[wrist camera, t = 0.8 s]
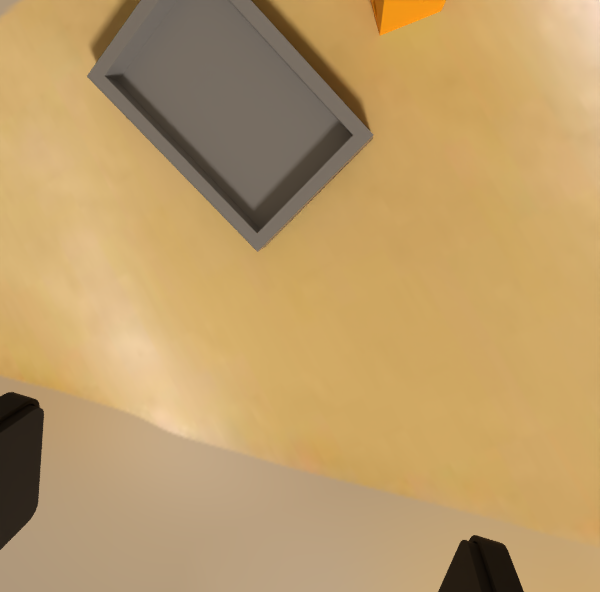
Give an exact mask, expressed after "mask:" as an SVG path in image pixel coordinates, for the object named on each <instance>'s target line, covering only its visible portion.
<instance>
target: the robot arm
mask: <svg viewBox="0 0 600 592" xmlns="http://www.w3.org/2000/svg"><path fill="white" fill-rule="evenodd" d="M43 420H44V411H43V409H41V408H40V407H39V402H38V401H37V400H36V399H33V398H30V397H27V396H23V395H20V394H17V393H14V392H9V393H6V394H4V395H2V396H0V550H1V549H2V548H3V547H4V546H5V544H7V543H8V541H10V540H11V538H13V537H14V536H15V535H16V534H17V532H19V530H21V528H22V527H23V526H25V525H26V523H27V522H28V521H29V520H30V519H31V518H32V516H33V515H34V513H35V511H36V508H37V505H38V496H39V495H38V494H39V481H40V465H41V449H42V434H43ZM438 592H524V591H523V589H522V586H521V583H520V581H519V578H518V576H517V573H516V570H515V568H514V565H513V563H512V560H511V558H510V555H509V552H508V550H507V548H506V546H505V545H504V544H502V543H499V542H496V541H493V540H489V539H486V538H483V537H480V536H476V535H473V536H472V537H471V538H470V540H469V541H467V540H462V541H461V542H460V544H459V547H458V549H457V551H456V553H455V555H454V558H453V560H452V562H451V564H450V567H449V569H448V571H447V573H446V576H445V578H444V580H443V582H442V585H441V587H440V589H439V591H438Z"/></svg>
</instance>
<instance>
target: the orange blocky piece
mask: <svg viewBox="0 0 600 592" xmlns="http://www.w3.org/2000/svg"><path fill="white" fill-rule="evenodd" d="M445 1H446V0H371V3H372V7H373V11H374V15H375V19H376V23H377V27H378V31H379V35H383V34H385V33H388V32H390V31H393V30H395V29H397V28H400V27H402V26H405V25H407V24H410V23H412V22H415V21H417V20H420V19H422V18H425V17H427V16H430V15H432V14H435V13H437V12H440V11H441V10H442V8H443V6H444V3H445Z"/></svg>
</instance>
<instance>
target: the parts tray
mask: <svg viewBox="0 0 600 592" xmlns="http://www.w3.org/2000/svg"><path fill="white" fill-rule="evenodd" d="M87 77H88V78H89V79H90V80H91V81H92V82H93V83H94V84H95V85H96V86H97V87H98V88H99V89H100V90H101V91H102V92H103V93H104V94H105V96H106V97H107V98H108V99H109V100H110V101H111V102H112V103H113V104H114V105H115V106H116V107H117V108H118V109H119V110H120V111H121V112H122V113H123V114H124V115H125V116H126V117H127V118H128V119H129V120H130V121H131V122H132V123H133V124H134V125H135V126H136V127H137V128H138V129H139V130H140V132H141V133H142V134H143V135H144V136H145V137H146V138H147V139H148V140H149V141H150V142H151V143H152V144H153V145H154V146H155V147H156V148H157V149H158V150H159V151H160V152H161V153H162V154H163V155H164V156H165V157H166V158H167V159H168V160H169V161H170V162H171V163H172V164H173V165H174V166H175V167H176V169H177V170H178V171H179V172H180V173H181V174H182V175H183V176H184V177H185V178H186V179H187V180H188V181H189V182H190V183H191V184H192V185H193V186H194V187H195V188H196V189H197V190H198V191H199V192H200V193H201V194H202V195H203V196H204V197H205V198H206V199H207V200H208V201H209V202H210V203H211V204H212V206H213V207H214V208H215V209H216V210H217V211H218V212H219V213H220V214H221V215H222V216H223V217H224V218H225V219H226V220H227V221H228V222H229V223H230V224H231V225H232V226H233V227H234V228H235V229H236V230H237V231H238V232H239V233H240V234H241V235H242V236H243V237H244V238H245V239H246V240H247V241H248V243H249V244H250V245H251V246H252V247H253V248H254V249H255V250H256V251H257V252H258V251H259V250H261V249H262V248H264V247H265V246H266V245H267V244H268V243H269V242H270V241H271V240H272V239H273V238H274V237H275V236H276V235H277V234H278V233H279V232H280V231H281V230H282V229H283V228H284V227H285V226H286V225H287V224H288V223H289V222H290V221H291V220H292V219H293V218H294V217H295V216H296V215H297V214H298V213H299V212H300V211H301V210H302V209H303V208H304V207H305V206H306V205H307V204H308V203H309V202H310V201H311V200H312V199H313V198H314V197H315V196H316V195H317V194H318V193H319V192H320V191H321V190H322V189H323V188H324V187H325V186H326V185H327V184H328V183H329V182H330V181H331V180H332V179H333V178H334V177H335V176H336V175H337V174H338V173H339V172H340V171H341V170H342V169H343V168H344V167H345V166H346V165H347V164H348V163H349V162H350V161H351V160H352V159H353V158H354V157H355V156H356V155H357V154H358V153H359V152H360V151H361V150H362V149H363V148H364V147H365V146H366V145H367V144H368V143H369V142H370V141H371V140H372V139H373V134H372V133H371V132H370V131H369V129H368V128H367V127H366V126H365V125H364V124H363V123H362V122H361V121H360V120H359V118H358V117H357V116H356V115H355V114H354V113H353V112H352V111H351V110H350V109H349V107H348V106H347V105H346V104H345V103H344V102H343V101H342V100H341V99H340V98H339V96H338V95H337V94H336V93H335V92H334V91H333V90H332V89H331V88H330V87H329V85H328V84H327V83H326V82H325V81H324V80H323V79H322V78H321V77H320V76H319V74H318V73H317V72H316V71H315V70H314V69H313V68H312V67H311V66H310V65H309V63H308V62H307V61H306V60H305V59H304V58H303V57H302V56H301V55H300V54H299V52H298V51H297V50H296V49H295V48H294V47H293V46H292V45H291V44H290V43H289V41H288V40H287V39H286V38H285V37H284V36H283V35H282V34H281V33H280V32H279V30H278V29H277V28H276V27H275V26H274V25H273V24H272V23H271V22H270V21H269V19H268V18H267V17H266V16H265V15H264V14H263V13H262V12H261V11H260V10H259V8H258V7H257V6H256V5H255V4H254V3H253V2H252V1H251V0H141V1H140V2H139V4H138V5H137V6H136V8H135V9H134V11H133V12H132V13H131V15H130V16H129V18H128V19H127V21H126V22H125V23H124V25H123V26H122V28H121V29H120V30H119V32H118V33H117V35H116V36H115V37H114V39H113V40H112V42H111V43H110V44H109V46H108V47H107V49H106V50H105V51H104V53H103V54H102V56H101V57H100V58H99V60H98V61H97V63H96V64H95V65H94V67H93V68H92V70H91V71H90V73H89V74H88V75H87Z"/></svg>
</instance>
